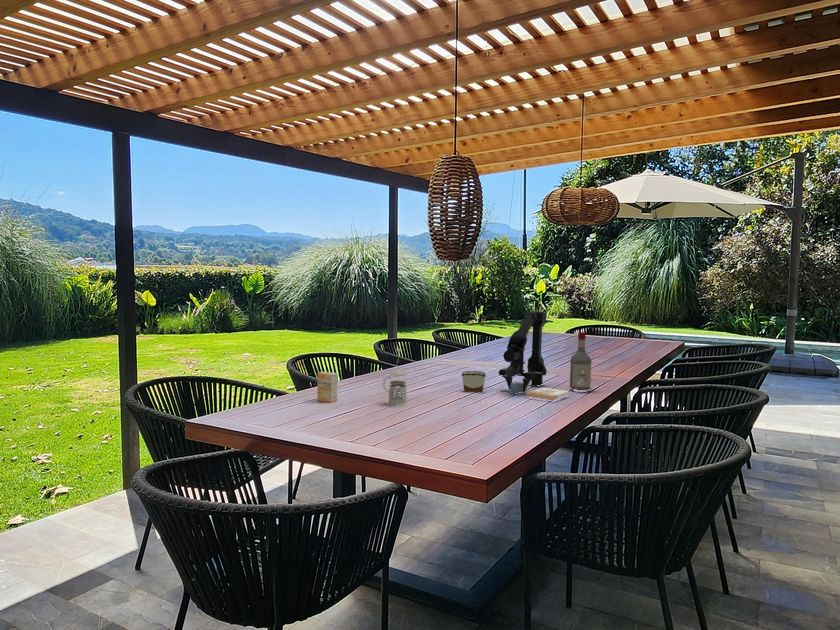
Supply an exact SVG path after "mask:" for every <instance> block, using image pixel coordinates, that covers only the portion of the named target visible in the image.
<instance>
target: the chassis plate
mask: <svg viewBox="0 0 840 630" xmlns="http://www.w3.org/2000/svg"><path fill="white" fill-rule="evenodd" d="M566 395H570V391H569V390H562V389H555V388H551V387H550V388H549V387H539V388H536V389H533V390H529V391H527V392H526V398H527V397H533V398H540V399H547V400H555V399H558V398H561V397H563V396H566Z"/></svg>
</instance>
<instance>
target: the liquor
mask: <svg viewBox="0 0 840 630" xmlns="http://www.w3.org/2000/svg"><path fill="white" fill-rule="evenodd" d="M577 334H578V335H577V339H578V341H577V343H578V344H577V351H575V353H574V354H573V355H572V356H571V358H570V366H569V367H570V369H569V371H570V372H569V373H570V375H569V376H570V377H569V388H570V387H571V388H572V389H577V390H588V389H590V390H591V384H592V383H591V381H592V379H591V378H592V358H591V357H590V355H589V354H588V353H587V352H586V334H587V333H586V332H585V331H584V332H580V331H579V332H578V333H577Z"/></svg>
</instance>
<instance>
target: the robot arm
mask: <svg viewBox="0 0 840 630" xmlns="http://www.w3.org/2000/svg"><path fill="white" fill-rule="evenodd" d="M547 318H548V317H547V313H545V311H539V310H532V311H526V313H525V316H524V318H523V321H522V322H521V324H520V326H519V328H518V330H515V331H514V332H513V333H512V334H511V336H510V337H509V340H508V343H507V346H506V351H504V353H503V356H502V357H503V360H505V362H507V363H509V366H507V367H506V368H500V369H499V370H498V375H499V376H501V377H502V378H503V379H505V381H506V384H507V387H508V390H509V391H510V385H511V383H513V377H516V376H520V377H523V378H522V379H521V380H522V383H523V393H525V392H526V391H527V388H528V386H529V384H531V385H541V384H543V382H544V381H543V377H544V376H546V375H547V372H548V371H547V367H546V365H545V360H544V358H543V357H542V356H543V355H542V344H543V343H542V339H543V328H544V326H545V324H547V323H546V322H547ZM531 327H532V338H531V339H532V341H531V344H532V345H531V355H530V357H528V358H527V366H526V368H527V371H526V370H525V369H524V365H525V364H526V362H525V361H524V358H525V355H524V354H525V353H524V352H525V351H526V348H525V346H526V345H527V342H528V337H527V335H528V333H529V331H530V329H531ZM525 371H526V372H525ZM530 382H531V383H530Z"/></svg>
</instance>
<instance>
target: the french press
mask: <svg viewBox="0 0 840 630" xmlns="http://www.w3.org/2000/svg"><path fill="white" fill-rule="evenodd" d="M396 352H397V362H399V356H400V355H399V354H400V353H399V352H401V349H400V348H396ZM407 374H408V373H407V372H406V371H405V370H404V371H403V370H401V369H395V370H391V371H390V372H389V375H388V376H386V377H385V378H384V379H383V383H382V386H383V389H384V390H385V391H386V392H387V393H388V401H387V403H388V404H390V405H389V406H392V405H404V406H407V405H406V404H408V405H409V402H408V401H407V385H406V383H407V382H406V381H403V380H402V381H401V380H392V381H389V384H390V385H389V386H388V387H389V390H388V389H387V388H386V383H385V382H386V381H387V378H388V379H389V380H391V376H393V377H394V376H395V377H405V376H407ZM388 404H387V405H388Z"/></svg>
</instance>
